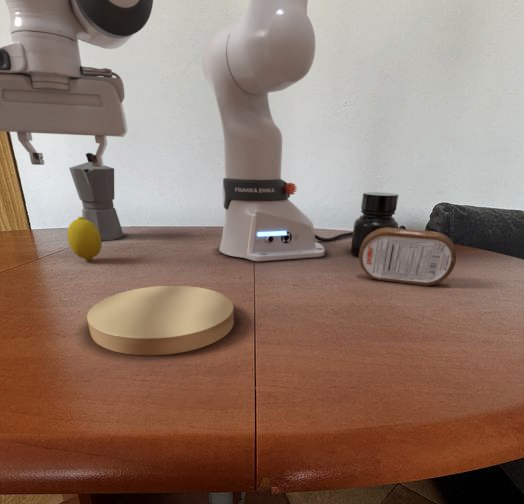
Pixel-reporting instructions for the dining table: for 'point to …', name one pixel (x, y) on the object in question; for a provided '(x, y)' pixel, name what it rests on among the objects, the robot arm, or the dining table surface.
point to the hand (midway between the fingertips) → (68, 165)
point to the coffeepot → (97, 197)
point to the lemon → (84, 238)
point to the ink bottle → (374, 217)
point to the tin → (407, 256)
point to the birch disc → (160, 320)
